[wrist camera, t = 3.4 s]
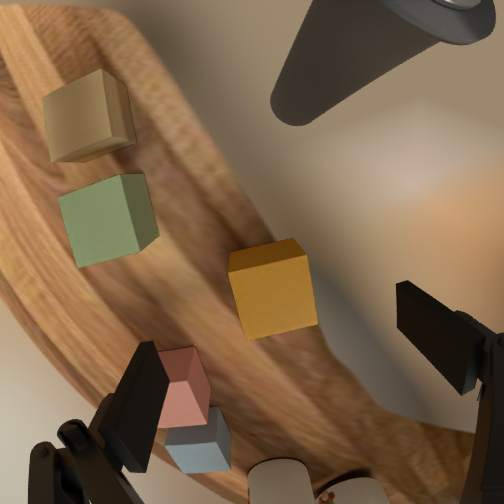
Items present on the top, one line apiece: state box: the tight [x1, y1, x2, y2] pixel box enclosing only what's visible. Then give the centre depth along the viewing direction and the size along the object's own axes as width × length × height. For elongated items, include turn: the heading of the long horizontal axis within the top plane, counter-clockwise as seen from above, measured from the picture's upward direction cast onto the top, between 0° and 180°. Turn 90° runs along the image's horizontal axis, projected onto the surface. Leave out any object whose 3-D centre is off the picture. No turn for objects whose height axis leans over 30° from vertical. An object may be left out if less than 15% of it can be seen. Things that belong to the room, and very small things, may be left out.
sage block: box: [58, 174, 159, 268], centre depth 20 cm, size 5×5×5 cm
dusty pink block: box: [157, 346, 211, 428], centre depth 24 cm, size 5×5×5 cm
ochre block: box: [228, 238, 318, 340], centre depth 22 cm, size 5×5×5 cm
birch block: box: [43, 69, 137, 163], centre depth 18 cm, size 5×5×5 cm
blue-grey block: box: [164, 406, 231, 473], centre depth 26 cm, size 5×5×5 cm
